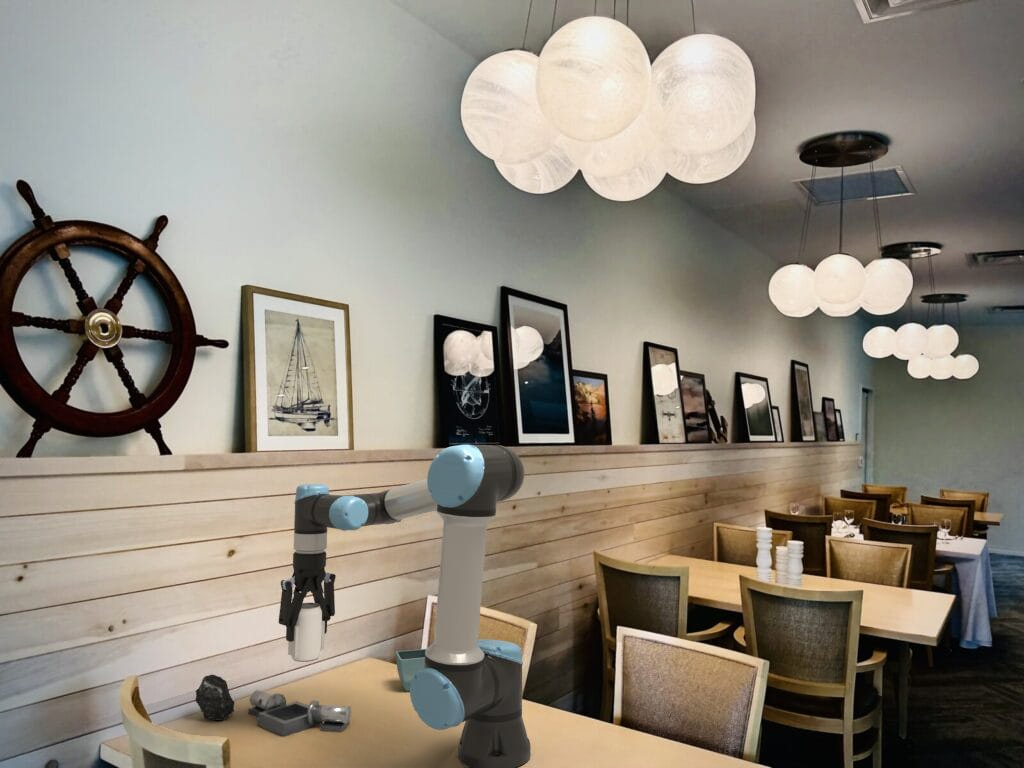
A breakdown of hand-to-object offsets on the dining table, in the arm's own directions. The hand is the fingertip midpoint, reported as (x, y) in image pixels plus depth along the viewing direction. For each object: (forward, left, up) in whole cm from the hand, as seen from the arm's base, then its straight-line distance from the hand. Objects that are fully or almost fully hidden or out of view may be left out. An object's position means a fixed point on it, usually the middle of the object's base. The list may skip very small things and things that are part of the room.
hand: (306, 651), depth 170 cm
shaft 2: (-4, -4, -17) cm, 18 cm away
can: (0, 0, -2) cm, 2 cm away
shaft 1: (+15, +1, -17) cm, 23 cm away
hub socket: (+4, +1, -17) cm, 18 cm away
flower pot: (+1, -35, -17) cm, 39 cm away
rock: (+21, +10, -17) cm, 29 cm away
